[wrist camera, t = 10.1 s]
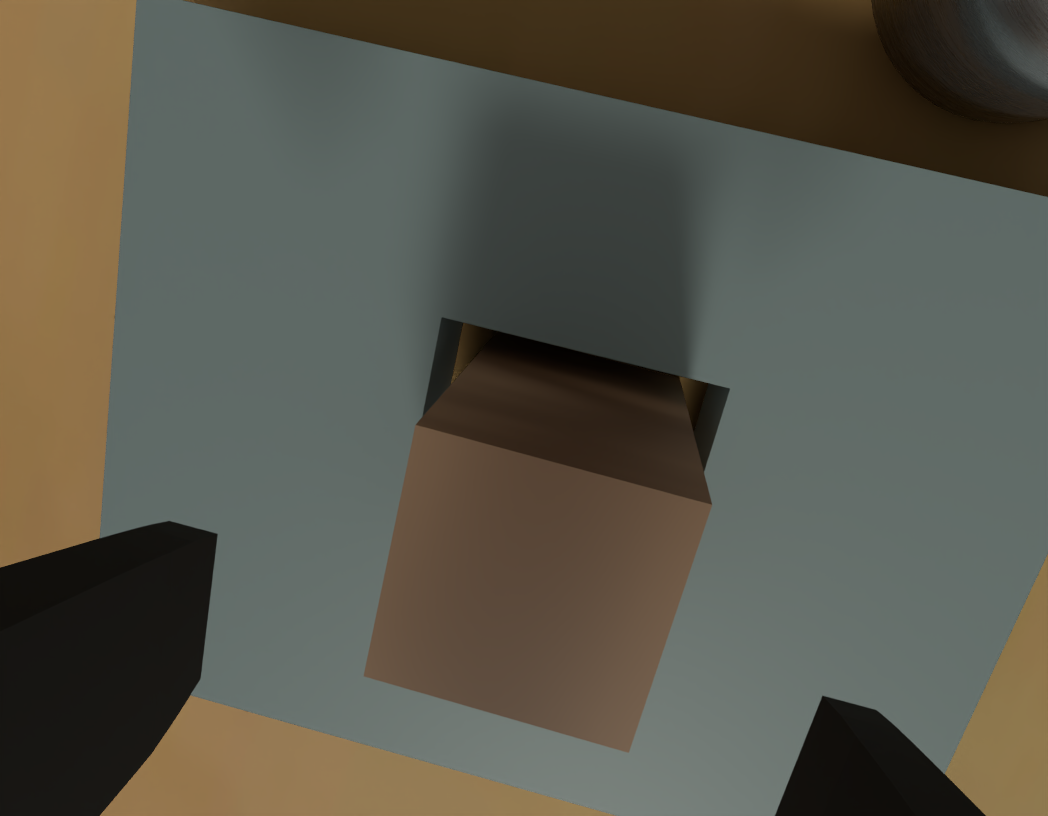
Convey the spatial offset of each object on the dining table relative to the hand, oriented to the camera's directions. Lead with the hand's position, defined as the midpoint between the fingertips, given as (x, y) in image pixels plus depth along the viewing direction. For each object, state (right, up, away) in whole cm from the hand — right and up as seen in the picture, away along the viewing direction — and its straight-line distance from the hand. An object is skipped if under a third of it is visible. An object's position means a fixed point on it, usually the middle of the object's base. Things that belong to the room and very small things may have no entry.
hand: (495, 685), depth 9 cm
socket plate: (+1, +2, +8) cm, 9 cm away
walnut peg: (+1, +3, +8) cm, 9 cm away
